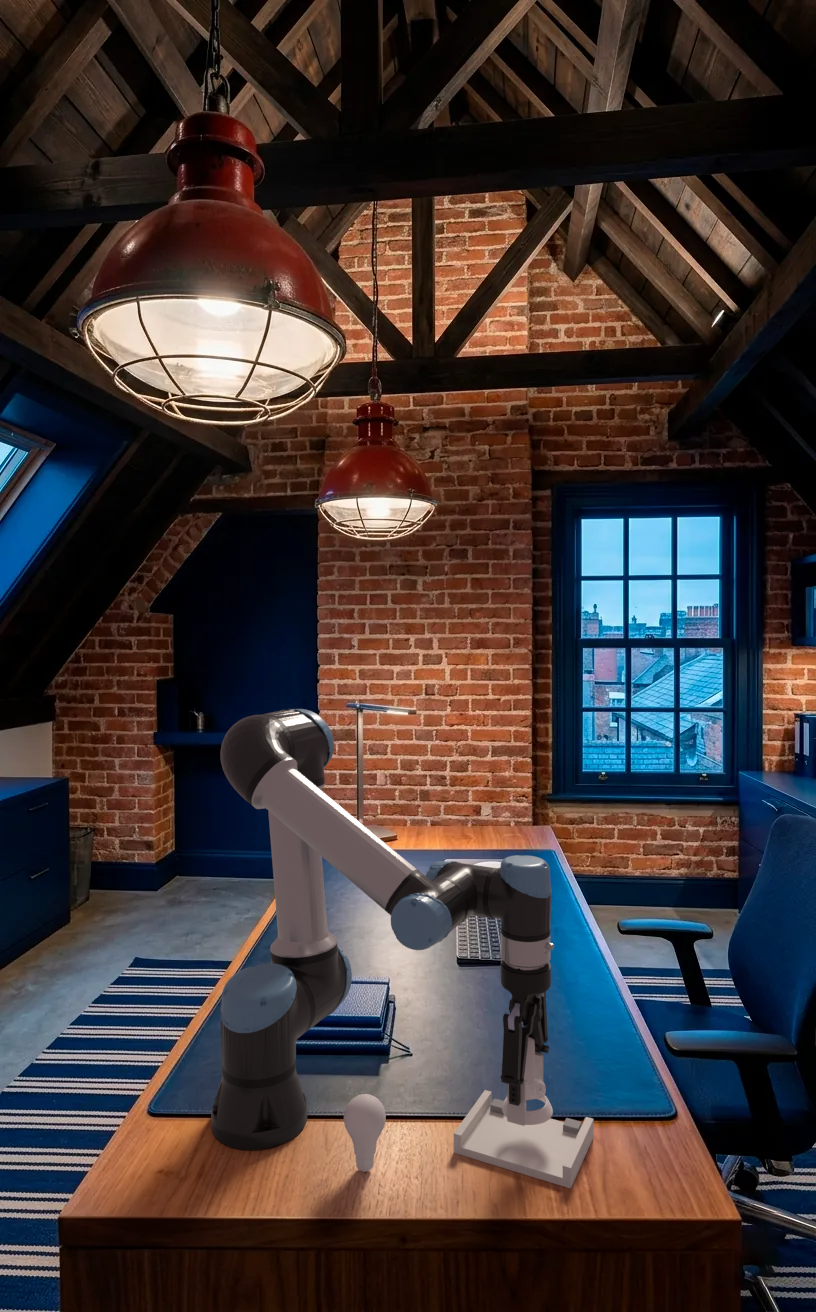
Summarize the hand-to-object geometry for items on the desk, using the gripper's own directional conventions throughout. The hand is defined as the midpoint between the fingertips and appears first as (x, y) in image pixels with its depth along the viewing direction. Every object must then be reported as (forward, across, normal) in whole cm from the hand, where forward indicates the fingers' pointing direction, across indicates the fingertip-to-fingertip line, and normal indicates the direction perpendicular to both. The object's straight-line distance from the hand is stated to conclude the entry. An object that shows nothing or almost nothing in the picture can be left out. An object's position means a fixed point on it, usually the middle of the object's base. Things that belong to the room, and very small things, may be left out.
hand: (525, 1107), depth 129 cm
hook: (+1, 0, 0) cm, 1 cm away
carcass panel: (+6, 0, 0) cm, 6 cm away
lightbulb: (+6, -16, +19) cm, 26 cm away
